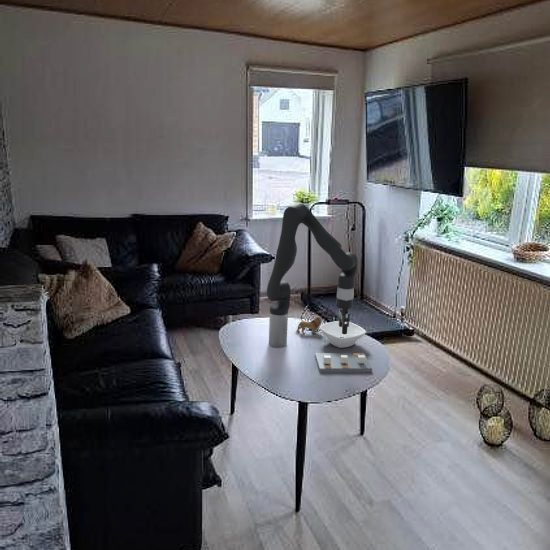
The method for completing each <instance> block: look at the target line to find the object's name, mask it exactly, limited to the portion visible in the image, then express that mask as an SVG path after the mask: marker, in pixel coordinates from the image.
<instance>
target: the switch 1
mask: <svg viewBox="0 0 550 550" xmlns="http://www.w3.org/2000/svg"><path fill="white" fill-rule="evenodd" d="M323 362H324V364H331V356H330V355H324V359H323Z"/></svg>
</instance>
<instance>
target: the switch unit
mask: <svg viewBox="0 0 550 550" xmlns="http://www.w3.org/2000/svg"><path fill="white" fill-rule="evenodd" d="M324 355H330V356H331V364H324V362H323V359H324ZM341 355H347V356H348V363H341V362H340V357H341ZM358 355H364V356H365V363H358V362H357V356H358ZM314 358H316V359H315V361H316V365H317V368H318V371H319V373H372V372H373V367H372V365H371V364H370V362H369V360H368V358H367V356H366V355H365V352H336V353H335V352H315V353H314Z"/></svg>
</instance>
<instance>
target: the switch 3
mask: <svg viewBox="0 0 550 550" xmlns="http://www.w3.org/2000/svg"><path fill="white" fill-rule="evenodd" d="M365 356H366V355H365ZM365 356H364V355H358V356H357V362H358V363H365Z"/></svg>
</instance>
